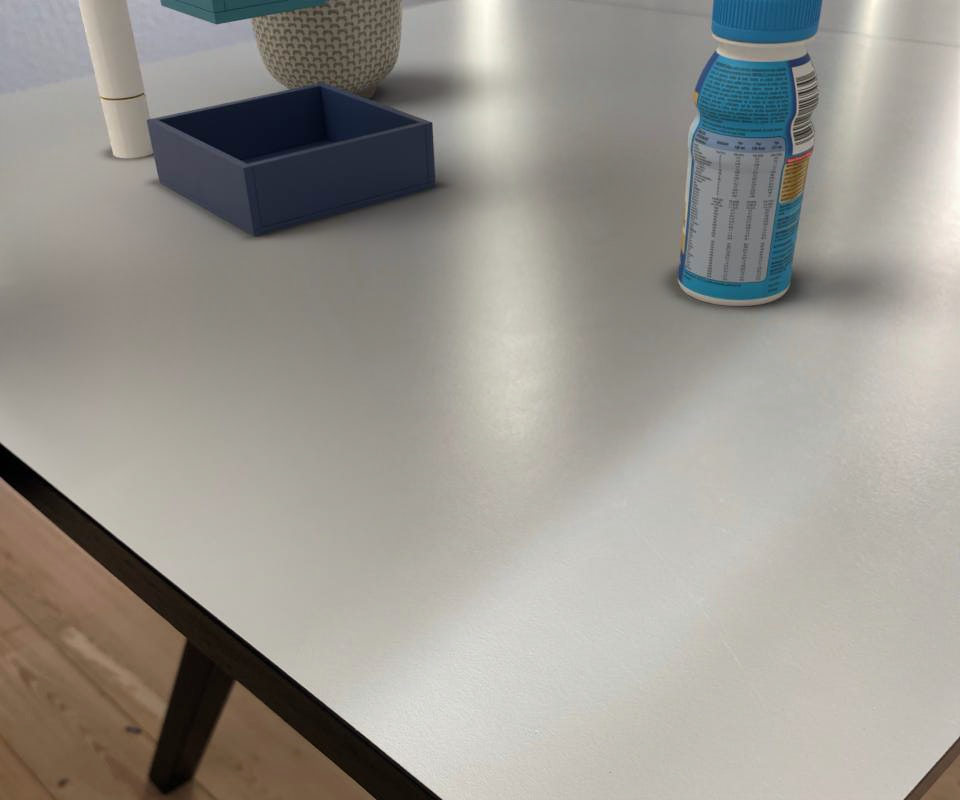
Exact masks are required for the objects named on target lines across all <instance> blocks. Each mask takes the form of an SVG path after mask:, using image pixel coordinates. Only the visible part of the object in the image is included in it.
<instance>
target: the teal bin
mask: <svg viewBox="0 0 960 800" xmlns="http://www.w3.org/2000/svg"><path fill="white" fill-rule="evenodd" d="M159 2H160V5H161V7H164V8H167V9H170V10H173V11H176V12H179V13H181V14H185V15H187V16H190V17H193V18H196V19H199V20H202V21H204V22H208V23H211V24H213V25H221V24H222V25H223V24H228V23H232V22H233V23H234V22H238V21H243V20H244V21H245V20H249V19H250V18H255V17H261V16H266V15H272V14H277V13H283V12H288V11H294V10H299V9H305V8H310V7H316V6H321V5H326V4H327V0H159ZM250 20H251V19H250Z"/></svg>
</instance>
